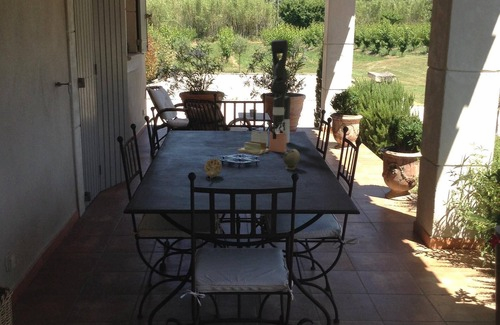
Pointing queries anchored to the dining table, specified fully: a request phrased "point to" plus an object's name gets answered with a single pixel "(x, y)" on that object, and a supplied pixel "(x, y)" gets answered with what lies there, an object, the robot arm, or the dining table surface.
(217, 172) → the pine cone
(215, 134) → the dining table surface
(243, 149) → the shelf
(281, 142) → the tall salmon pink block
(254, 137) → the ink box
